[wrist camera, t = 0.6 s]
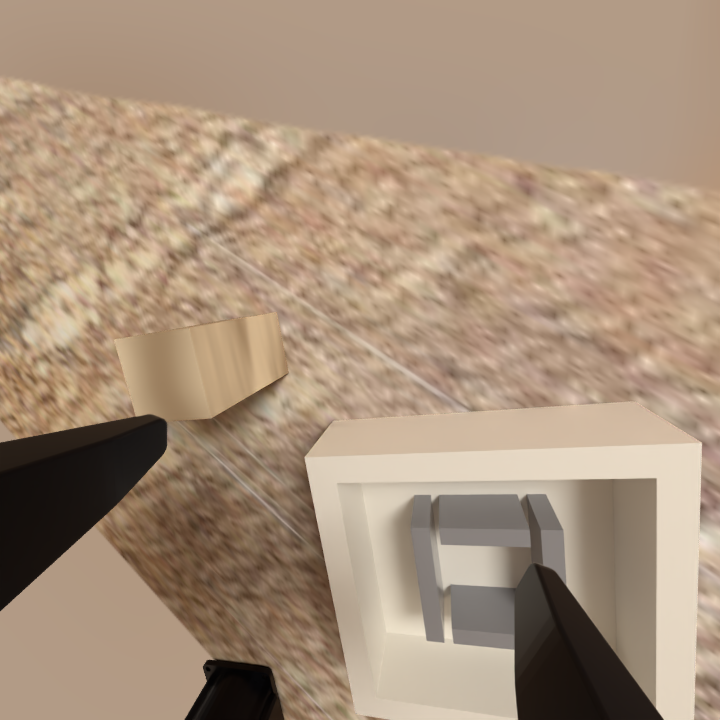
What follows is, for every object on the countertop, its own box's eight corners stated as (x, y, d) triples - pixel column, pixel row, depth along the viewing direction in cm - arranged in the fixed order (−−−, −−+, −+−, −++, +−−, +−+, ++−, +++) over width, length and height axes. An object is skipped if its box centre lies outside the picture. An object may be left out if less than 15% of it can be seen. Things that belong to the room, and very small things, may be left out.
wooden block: (235, 378, 24) (138, 423, 16) (222, 320, 23) (113, 339, 15) (288, 372, 23) (211, 418, 15) (276, 312, 22) (189, 328, 14)
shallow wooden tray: (371, 634, 26) (355, 714, 21) (333, 420, 23) (304, 457, 18) (637, 660, 21) (692, 768, 17) (634, 401, 18) (701, 442, 14)
